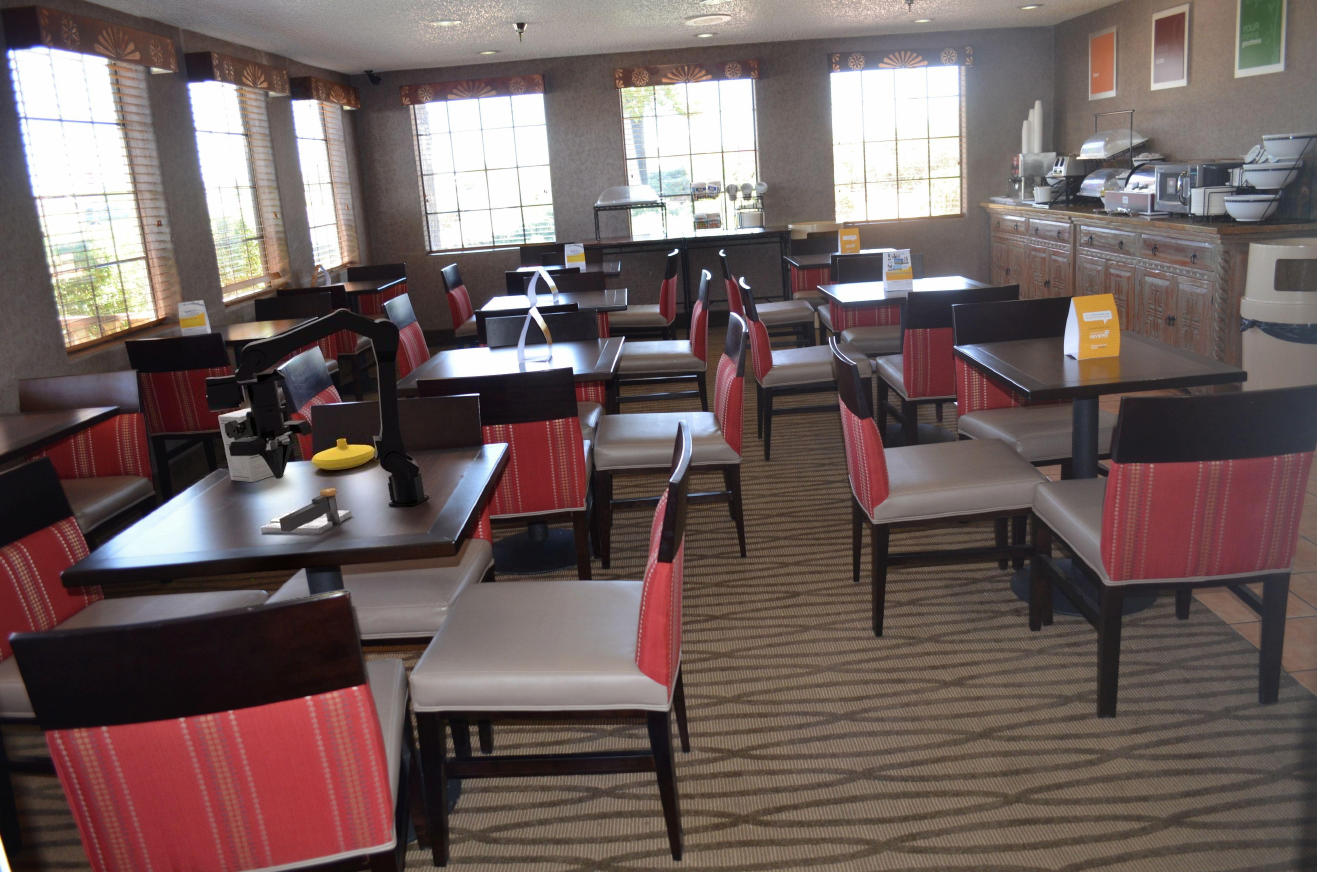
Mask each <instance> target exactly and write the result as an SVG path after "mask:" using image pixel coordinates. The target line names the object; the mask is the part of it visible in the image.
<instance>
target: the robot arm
mask: <svg viewBox="0 0 1317 872" xmlns="http://www.w3.org/2000/svg"><path fill="white" fill-rule="evenodd" d="M343 330H346V331H349V332H351V333H354V334H357V335H360V336H362V337H364V338H368V339H370V344H371V347H372V351H373V356H374V359H375V362H376V373H377V387H378V400H379V401H378V403H379V416H380V419H379V420H380V429H379V430H380V431H379V435H372V438H373V443H374V449H375V450H374V455H375V456H374V458H375V460H376V461H378V462H379V465H380V467H381V468H382V469H383V470H384V471H385V472H388V473H391V475H388V483H387V485H388V492H389V499H390V501H391V502H388V506H390V507H395V506H396V507H399V506H401V507H413V506H414V507H415V506H417V505H418V504H420V503H422V502H423V501H425V500H426V499H428V498H429V497H430V495H429V494H425V490H424V484H423V478H422V477H423V476H422V472H421V471H420V467H419V464H418V463H417V461H416V460H415V458H414V457H412V456H411V455H409V454H408V453H407V451H406V447H405V444H404V439H403V436H402V433H401V429H400V414H399V402H398V401H399V399H398V397H399V396H398V387H397V386H398V385H397V384H398V383H397V370H396V369H397V367H396V363H397V357H398V353H399V344H400V337H401V335H400V330H399V327H398V326H397V325H396V324H395V323H394V322H393V321H391V320H390V319H387V318H382V317H381V318H377V319H374V318H371V317H367V316H365V315H362V314H359V313H355V312H352V311H351V310H350V309H349V310H348V309H347V308H338V309H337V310H335V311H333V312H332V313H330V314H327V315H325V316H323V317H321V318H319V319H317V320H314V321H312V322H309V323H307V324H305V325H302V326H300V327H298V328H295V329H293V330H291V331H288V332H286V333H284V334H280V335H277V336H273V337H272V336H271V337H267V338H262V339H259V340H255V341H252V342H249V343H248V344H246V345H245V346H244V347H243V348H242V350H241V353H240V357H239V360H240V363H241V364H240V365H239V367H238V369H235V372H234V374H235V375H234V374H233V375H226V376H225V375H224V376H218V377H217V376H212V377H206V378H205V380H204V382H205V391H206V402H207V403H206V404H207V406H208V409H209V412H210V413H213V412H223V411H228V410H236V409H240V408H241V407H242V405H243V403H246V402H247V400H246V394H245V389H244V386H245V387H246V392H247V396H248V402H249V408H251V411H249V412H247V414H246V418H247V420H245V421H242V422H240V423H238V422H237V421H236V420H233V421H230V422H228V423H226V424H224V425H225V433H226V435H227V437H228V438H230V439H231V438H234V440H235V441H233V442H231V443H230V445H229V451H230V456H254V455H258V454H259V455H260V456H262V457H263V459H264V460H265V461H266V463H267V465H268V466H269V468H270V469H271V471H272V473H273V474H274V478H275V479H279V480H280V479H283V477H284V474H285V471H286V467H287V465H288V461H289V458H290V455H291V452H292V450H293V447H294V445H296V440H290V438H289V437H290V436H292V435H295V434H299V435H301V436H302V437H305V436H309V435H311V434H313V429H312V424H311V423H310V422H309V421H308V420H288V421H284V415H283V413H284V412H287V406H286V405H283V406H282V405H281V399H280V394H279V388H278V384H277V383H278V382H279V381H285V380H286V374H285V373H282V372H280V371H279V369H278V368H277V367H275V368H273V370H272V371H271V372H266V373H265V371H267V370H269V369H270V368H271V367H272V366H275V365H276V364H277V363H279V362H280V361H282V360H283V359H284V358H286V357H287V356H288V355H290V354H291V353H293V352H296V351H298V350H300V349H302V348H304V347H307V346H309V345H311V344H314V343H316V342H318V341H320V340H322V339H325V338H327V337H329V336H331V335H334V334H336V333H338V332H340V331H343ZM253 374H256V378H255V379H249V378H250V377H251V376H252V375H253ZM241 409H242V408H241ZM248 437H253V438H248ZM267 439H268V440H267Z"/></svg>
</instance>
